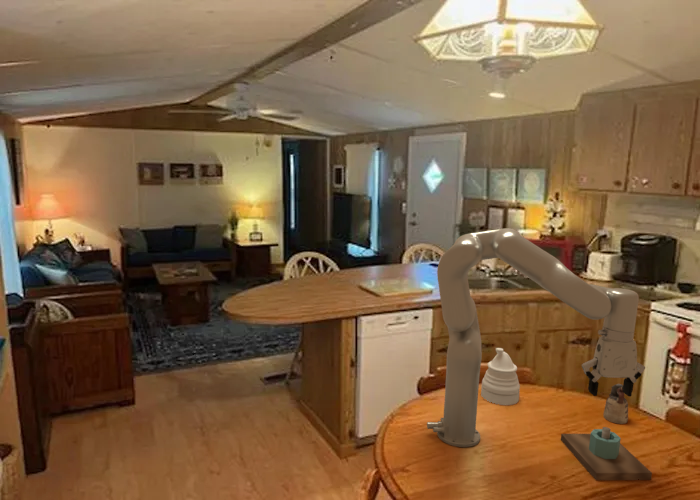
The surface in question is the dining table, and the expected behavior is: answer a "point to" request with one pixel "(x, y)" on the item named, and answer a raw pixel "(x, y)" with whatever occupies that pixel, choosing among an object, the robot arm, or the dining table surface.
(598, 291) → the robot arm
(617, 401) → the figurine
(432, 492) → the dining table surface
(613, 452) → the bead
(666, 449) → the dining table surface
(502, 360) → the honey pot
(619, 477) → the rod stand
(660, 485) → the dining table surface
